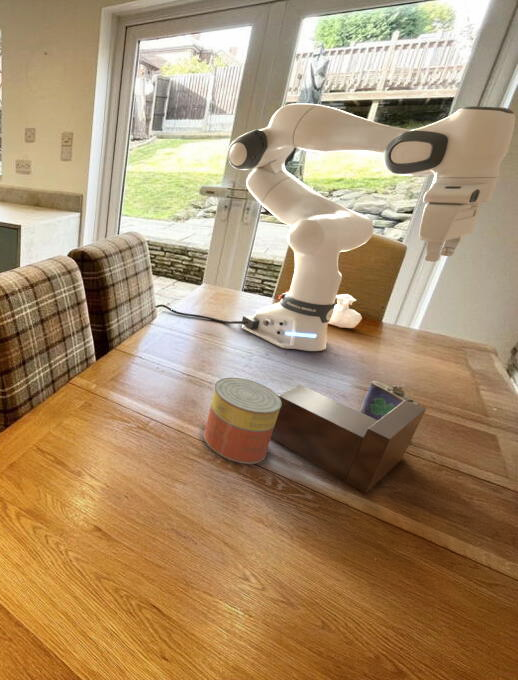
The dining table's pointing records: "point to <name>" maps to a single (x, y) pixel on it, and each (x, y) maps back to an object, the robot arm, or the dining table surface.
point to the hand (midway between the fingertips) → (439, 258)
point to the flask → (383, 399)
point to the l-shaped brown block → (345, 435)
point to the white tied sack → (345, 313)
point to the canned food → (241, 420)
